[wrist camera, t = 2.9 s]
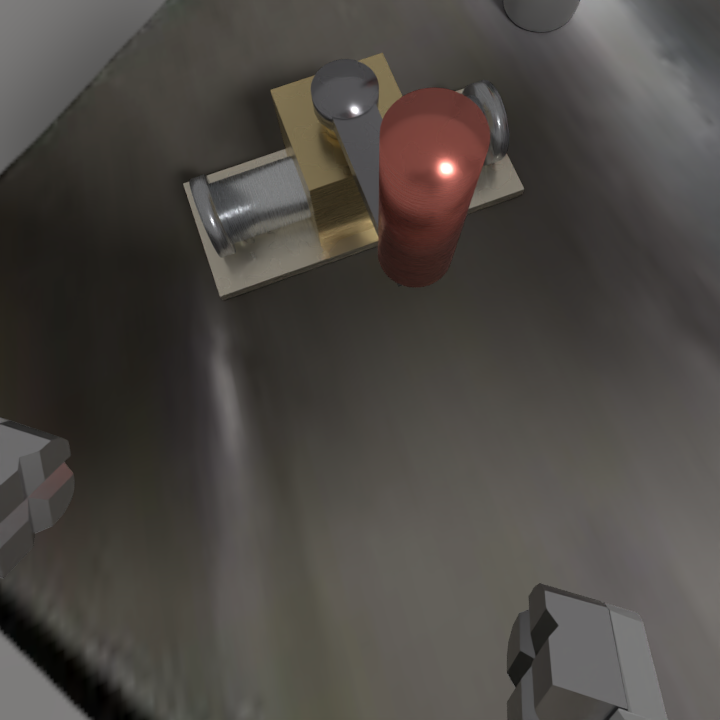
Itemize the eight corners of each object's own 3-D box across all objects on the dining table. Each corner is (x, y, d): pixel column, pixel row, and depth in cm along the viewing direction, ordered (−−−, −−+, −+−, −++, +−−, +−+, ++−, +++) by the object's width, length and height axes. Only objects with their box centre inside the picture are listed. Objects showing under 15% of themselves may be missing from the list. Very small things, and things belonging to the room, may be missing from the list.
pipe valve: (470, 93, 40) (496, -14, 32) (521, 195, 38) (563, 109, 30) (186, 189, 39) (134, 105, 31) (223, 300, 37) (178, 242, 29)
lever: (304, 87, 30) (270, -107, 20) (365, 67, 30) (360, -135, 21) (393, 305, 27) (403, 199, 17) (460, 281, 27) (508, 162, 18)
